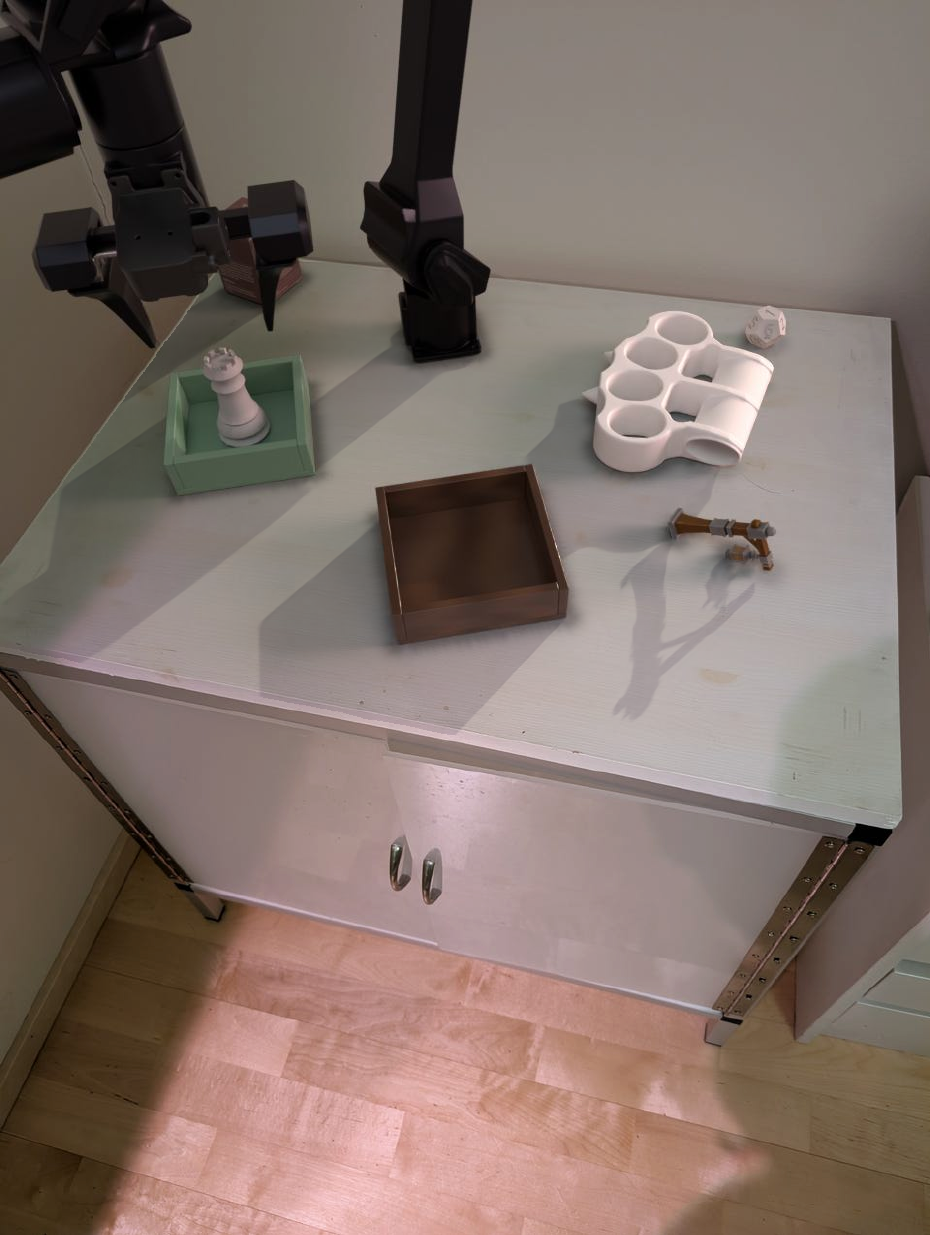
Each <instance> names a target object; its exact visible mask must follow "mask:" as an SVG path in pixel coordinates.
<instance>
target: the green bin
mask: <svg viewBox="0 0 930 1235" xmlns="http://www.w3.org/2000/svg"><path fill="white" fill-rule="evenodd" d="M305 371H306V370H305V367H304V364H303V360H302V356H301V354H296V355H290V356H283V357H282V356H281V357H274V358H267V359H261V360H253V361H247V362H243V367H242V370H241V372H240V373H241V374H242V375H244V377H245V384H244V385H245V388H246V390H247V391H248V393H249V395H250V397H251V399H252V400H253V401H255V402H256V403H257V404H258V405H259V406H260V407H262V408H263V410H264V411H265V414H266V416H267V418H268V420H269V423H270V428H269V432H268V434H267V435H266V437H265V438H264V439H263V441H261V442H260V443H258V444H257V445H250V446H244V447H237V448H236V447H232V446H230V445H227V444H226V443H225V442H223V441H222V440H221V438H220V435H219V430H218V428H217V419H218V413H219V409H220V407H219V402H218V397H217V393H216V392H215V391H214V390H213V389H212V387H211V383H212V380H210V379H208V378H207V377H205V376H204V374H203V368H198V369H191V370H184V371H179V372H170V373H169V381H168V382H169V384H168V394H167V395H168V396H167V409H166V423H165V434H164V436H165V437H164V449H163V450H164V451H163V452H164V453H163V465H162V466H163V467H164V469H165V472H166V474H167V477H168V478H169V480H170V482H171V484H172V486H173V488H174V490H175V493H176V495H177V496H185V495H190V494H191V495H192V494H198V493H205V492H213V491H217V490H219V491H220V490H227V489H231V488H237V487H239V488H240V487H245V486H250V485H257V484H264V483H265V484H266V483H272V482H278V481H285V480H291V479H298V478H299V479H300V478H304V477H313V476H316V466H315V465H316V464H315V456H314V455H315V453H314V439H313V425H312V413H311V412H312V411H311V401H310V400H311V399H310V388H309V387H310V386H309V383H308V378H307V375H306V372H305Z"/></svg>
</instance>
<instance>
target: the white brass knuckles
mask: <svg viewBox="0 0 930 1235" xmlns="http://www.w3.org/2000/svg"><path fill="white" fill-rule="evenodd" d="M602 355H603V356H604V357H605V359H606V360H607V361H608V363H609V364H610V365H609V366H608V367H607V368H606V369H604V370H603V371H602V372H600V374H599V381H598V385H597V386H593V387H592V388H590V389H587V390H584V391H582V392H579V395H580V396H582V397H584V398H585V399H586V400H588V401H590V402H591V403H593V404H595V405H596V411H595V418H594V419H595V421H594V428H593V440H592V449H593V450H594V454H595V455H596V457H597V458H598V460H600V461H601V463H603V464H604V465H606V466H607V467H609V468H611V469H614V470H616V471H619V472H623V473H641V472H647V471H650V470H652V469H654V468H656V467H658V466H660V465H661V464H662V463H663V462H664V461H665V460H668V459H673V458H679V457H682V458H684V459H689V460H693V461H697V462H701V463H705V464H708V465H712V466H721V467H722V466H723V467H726V466H735V465H737V464H738V463H740V462H741V459H742V456H743V454H744V450H745V447H746V446H747V442H748V439H749V437H750V435H751V432H752V429H753V427H754V424H755V421H756V420H757V416H758V413H759V411H760V408H761V405H762V402H763V399H764V398H765V394H766V392H767V389H768V386H769V383H770V382H771V380H772V377H773V373H774V370H775V367H774V366H773V364H772V363H771V362H770V360H768V359H767V358H766V357H764V356H762V355H760V354H758V353H755V352H753V351H752V352H751V351H748V350H745V349H743V348H738V347H734V346H731V345H730V346H729V345H725V344H722V343H721V342H719V341H718V340H716V339H715V338H714V333H713V329H712V328H711V325H710V324H709V323H708V322H707V320H704V318H702V317H700V316H698V315H696V314H693V313H691V312H687V311H681V310H669V311H668V310H667V311H662V312H657V313H655V314H653V315H650V316H649V317H647V320H646V326H645V327H644V328H643V330H642V331H640V332H639V333H637V334H635V335H633V336H629V337H626V338H624V339H623V341H621V342H620V343H619V344H617V346H616V347H614V349H613V350H612V351H611V350H609V351H604V352H602ZM698 376H706V377H709V378H711V379H712V380H711V382H710V381H706V380H702V379H697V378H696V377H698ZM670 413H680V414H684V415H687V416H693V417H696V418H695V420H694V421H692V420H688V421H683V422H680V421H676V420H674V419H673V417H672V416H671V414H670ZM631 436H639V437H631Z"/></svg>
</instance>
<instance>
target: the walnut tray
mask: <svg viewBox="0 0 930 1235" xmlns="http://www.w3.org/2000/svg"><path fill="white" fill-rule="evenodd" d="M374 492H375V497H376V499H375V500H376V505H377V513H378V521H379V528H380V536H381V544H382V551H383V558H384V566H385V573H386V579H387V580H386V581H387V588H388V595H389V603H390V611H391V617H392V623H393V627H394V631H395V636H396V641H397V642H396V643H397V644H398V645H404V644H411V643H417V642H423V641H430V640H436V639H441V638H449V637H455V636H460V635H468V634H473V633H479V632H485V631H492V630H498V629H505V628H510V627H511V628H512V627H516V626H517V627H518V626H522V625H523V626H524V625H531V624H535V623H541V622H547V621H555V620H560V619H566V618H567V617H568V604H569V590H570V587H569V583H568V580H567V577H566V574H565V569H564V566H563V562H562V560H561V556H560V553H559V549H558V545H557V542H556V539H555V535H554V531H553V529H552V525H551V521H550V519H549V518H550V517H549V514H548V510H547V509H546V504H545V501H544V498H543V494H542V491H541V487H540V484H539V481H538V477H537V474H536V470H535V467H534V464H533V463H530V464H521V465H515V466H509V467H501V468H494V469H489V470H482V471H475V472H467V473H463V474H455V475H449V476H443V477H442V476H441V477H435V478H428V479H423V480H416V481H410V482H403V483H395V484H389V485H384V486H383V485H382V486H377V487H374Z"/></svg>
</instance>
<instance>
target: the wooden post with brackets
mask: <svg viewBox="0 0 930 1235" xmlns="http://www.w3.org/2000/svg"><path fill="white" fill-rule="evenodd" d="M667 526H668V528H669V531H670V534H671V538H672V540H678V539H679V538H680V536H681V535H683V534H684V535H685V534H710V536H712V537H714V536H717V537H724V538H726V537H727V536H728V538H729V539H730V538H731V539H732V538H734V536H737V537H743V538H744V539H745V540H746V541H747V542H748V543H750V545H752V546H753V548H755V549H756V550H757V552H758V553H756V551H755V549H754V550H753V551H752V550H751V549H750V546H749V544H747V545H746V546H745V547H744V546H740V545H737V544H734V545H733V546H732V548H726V550H725V555H726V556H727V557H728V558H729V557H730V560H731V562H732V563H733V562H735V561H736V562H743V565H746V564H747V562H748V561H749V560H751V561H754V560H756V559H758V560H759V562H760V564H761V566H762V568H763V569H762V570H763V571H768V572H771V571H772V569H773V567H774V566H775V565H774V557H773V553H772V550H770V548H769V544H768V538H769V537H774V536H776V534H777V528H776V527H775V526H771V524H770V521H762V520H761V519H758V518H757V519H756V518H753V520H751V521H750V522H742V521H737V519H735V518H734V519H733V518H732V519H731V520H730V519H729V518H716V517H714V518H713V519H708V518H703V517H697V516H693V515H689V514H686V513H685V511H684V508H683V507H680V506H677V508H676V509H675V511H674V512H673V513H672V514H671V516H670V517H669V518H668V520H667Z"/></svg>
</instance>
